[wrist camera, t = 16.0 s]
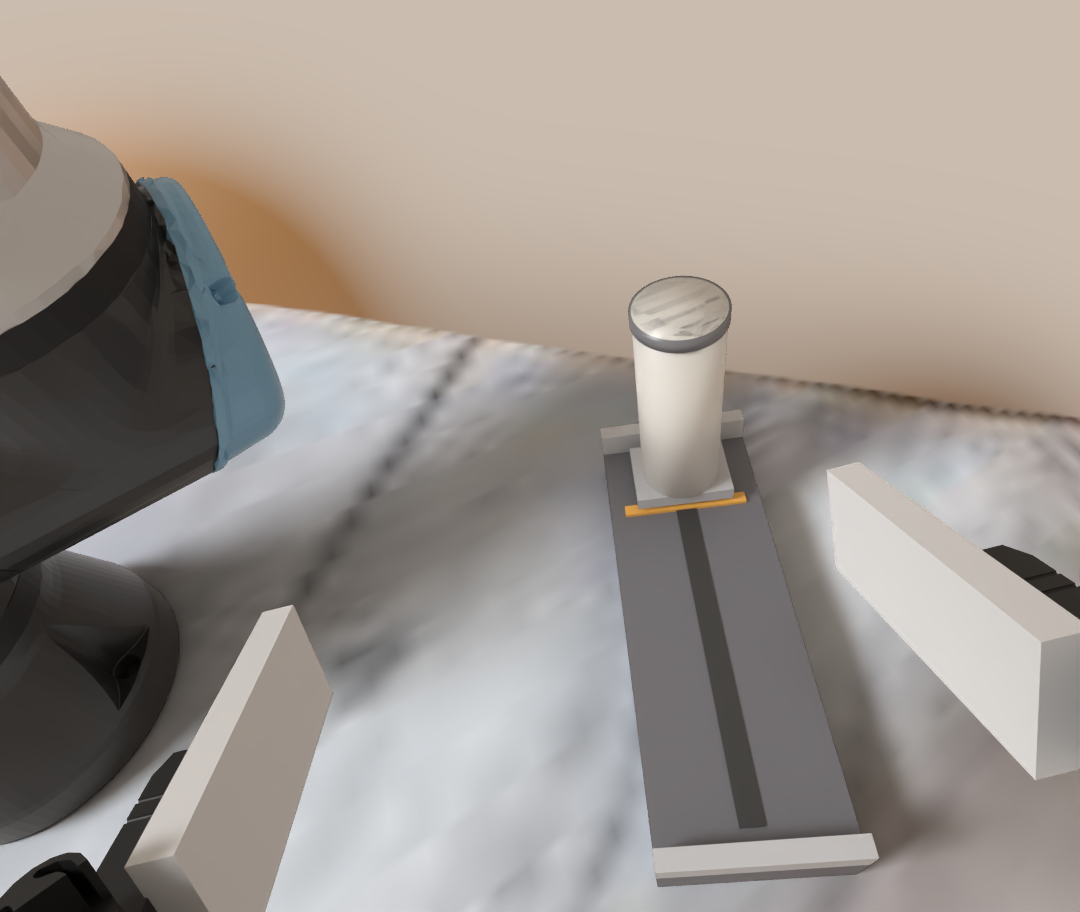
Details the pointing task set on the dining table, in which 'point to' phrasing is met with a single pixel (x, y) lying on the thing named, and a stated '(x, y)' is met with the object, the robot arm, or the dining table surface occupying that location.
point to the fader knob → (680, 391)
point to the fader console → (724, 688)
